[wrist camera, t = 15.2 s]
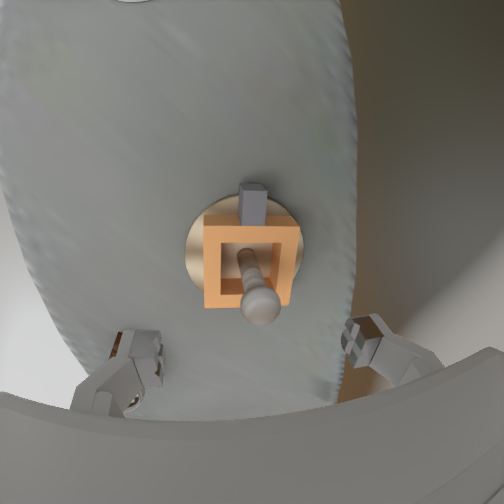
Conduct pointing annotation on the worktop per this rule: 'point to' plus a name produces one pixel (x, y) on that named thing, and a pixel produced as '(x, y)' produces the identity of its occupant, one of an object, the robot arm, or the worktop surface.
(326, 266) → the worktop surface
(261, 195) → the orange square frame
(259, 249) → the round peg stand
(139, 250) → the worktop surface
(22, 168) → the worktop surface
